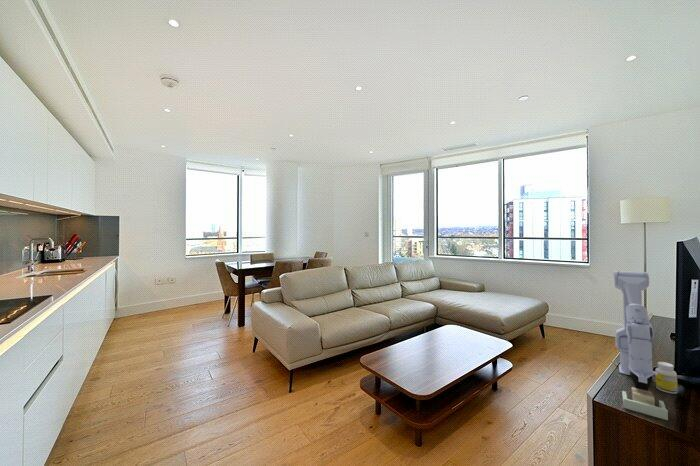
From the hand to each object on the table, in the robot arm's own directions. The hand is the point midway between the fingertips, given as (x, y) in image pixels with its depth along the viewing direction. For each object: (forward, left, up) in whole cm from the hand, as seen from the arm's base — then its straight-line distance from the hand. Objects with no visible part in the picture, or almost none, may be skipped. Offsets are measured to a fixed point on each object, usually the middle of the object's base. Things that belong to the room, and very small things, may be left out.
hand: (641, 395), depth 99 cm
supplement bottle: (-14, +7, -2) cm, 16 cm away
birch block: (+4, 0, -1) cm, 4 cm away
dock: (+6, 0, -1) cm, 7 cm away
